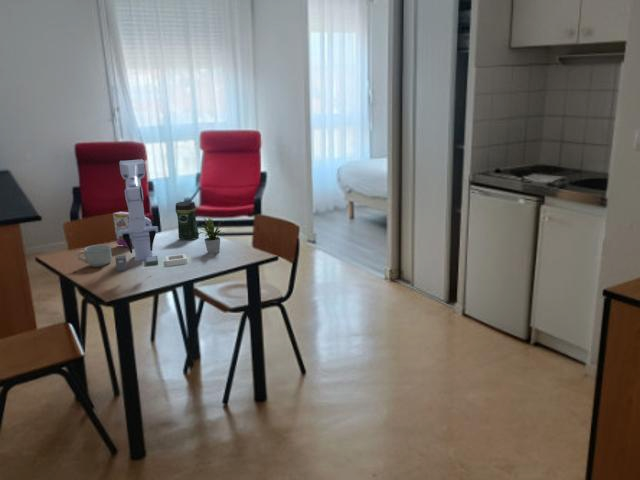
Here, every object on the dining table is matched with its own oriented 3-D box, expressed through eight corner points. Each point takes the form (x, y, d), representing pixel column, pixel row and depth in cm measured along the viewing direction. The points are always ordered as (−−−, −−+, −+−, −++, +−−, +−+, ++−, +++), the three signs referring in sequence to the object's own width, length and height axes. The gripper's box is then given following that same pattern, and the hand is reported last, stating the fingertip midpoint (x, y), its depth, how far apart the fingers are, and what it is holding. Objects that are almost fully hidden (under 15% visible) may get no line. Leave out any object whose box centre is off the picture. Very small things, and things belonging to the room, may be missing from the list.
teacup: (112, 260, 264) (110, 242, 262) (113, 266, 254) (111, 248, 252) (79, 265, 259) (76, 247, 257) (78, 271, 249) (76, 253, 247)
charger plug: (117, 270, 248) (115, 256, 246) (127, 269, 249) (125, 255, 247) (117, 273, 244) (115, 258, 242) (127, 271, 245) (125, 257, 244)
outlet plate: (142, 262, 257) (141, 257, 256) (189, 256, 262) (188, 251, 262) (142, 270, 245) (141, 264, 244) (192, 264, 250) (191, 258, 250)
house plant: (189, 252, 270) (185, 217, 266) (215, 246, 278) (212, 212, 275) (206, 257, 259) (202, 221, 255) (232, 251, 268) (229, 215, 264)
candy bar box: (116, 246, 289) (111, 213, 285) (124, 244, 293) (120, 211, 289) (132, 248, 283) (127, 214, 279) (140, 246, 287) (136, 212, 283)
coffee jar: (201, 236, 300) (197, 200, 296) (194, 240, 293) (190, 203, 288) (183, 236, 303) (179, 200, 298) (176, 240, 295) (172, 203, 291)
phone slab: (145, 260, 258) (145, 257, 257) (157, 259, 259) (157, 255, 259) (146, 266, 249) (145, 262, 249) (158, 264, 251) (157, 260, 250)
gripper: (117, 221, 227) (122, 256, 230) (156, 217, 231) (160, 251, 234) (117, 218, 233) (122, 251, 236) (156, 214, 237) (160, 247, 240)
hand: (141, 251), depth 236 cm, fingers open, 7 cm apart
